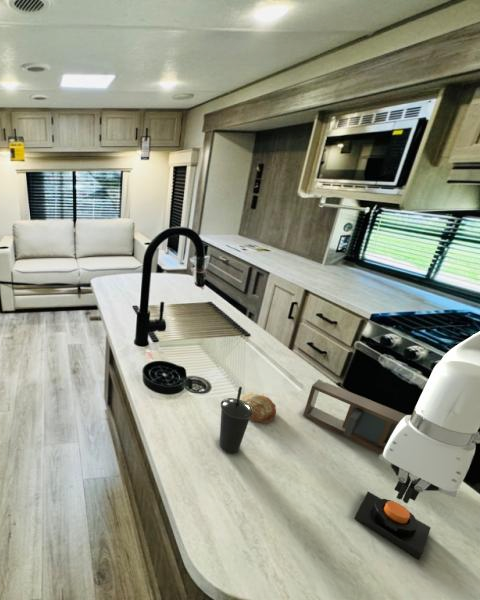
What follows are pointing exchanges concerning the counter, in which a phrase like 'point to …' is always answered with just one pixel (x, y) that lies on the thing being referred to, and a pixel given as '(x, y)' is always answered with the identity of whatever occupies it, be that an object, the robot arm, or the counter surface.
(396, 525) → the control block
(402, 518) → the button
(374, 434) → the window sash
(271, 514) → the counter surface
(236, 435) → the drinking cup
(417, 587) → the counter surface
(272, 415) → the bread roll
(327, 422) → the window frame
